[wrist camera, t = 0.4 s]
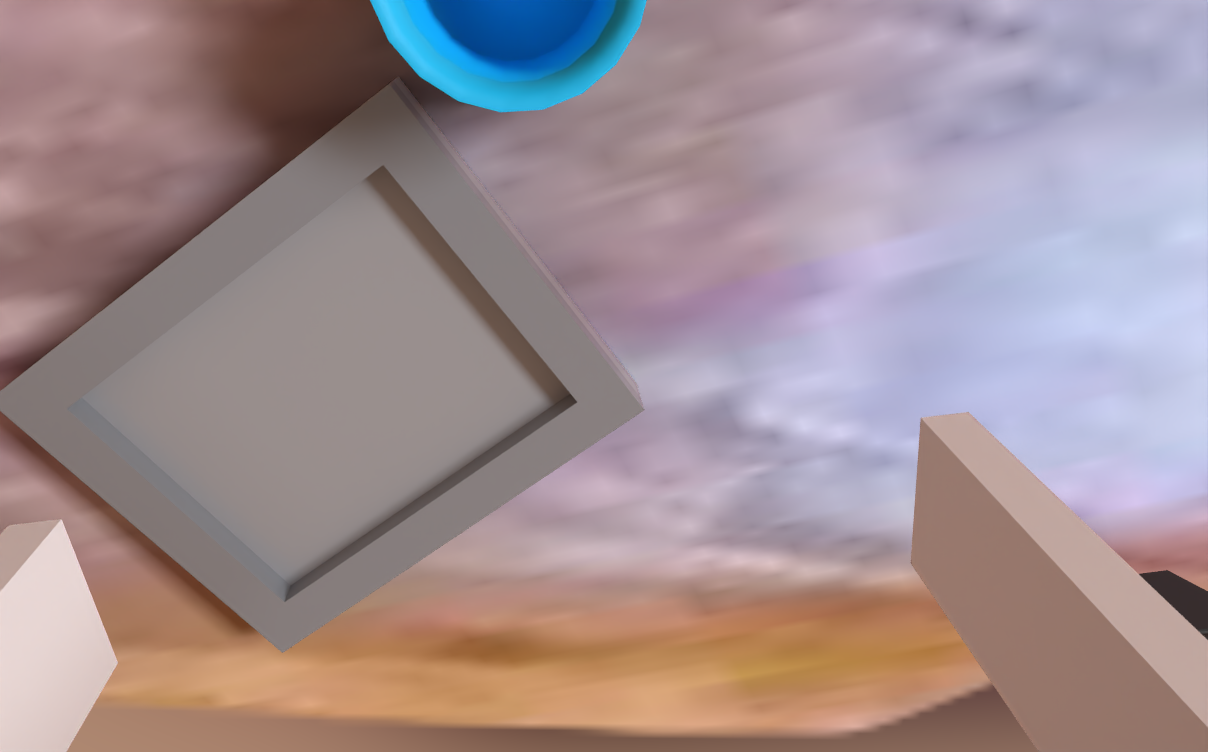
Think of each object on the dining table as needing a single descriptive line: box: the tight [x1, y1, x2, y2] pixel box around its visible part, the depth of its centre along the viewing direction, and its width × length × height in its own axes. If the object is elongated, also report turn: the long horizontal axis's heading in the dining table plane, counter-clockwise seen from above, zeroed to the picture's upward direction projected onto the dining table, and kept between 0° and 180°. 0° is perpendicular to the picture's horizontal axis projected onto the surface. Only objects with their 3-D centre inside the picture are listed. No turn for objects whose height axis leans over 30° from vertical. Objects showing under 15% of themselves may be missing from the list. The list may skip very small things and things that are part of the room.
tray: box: [0, 77, 644, 653], centre depth 37 cm, size 16×20×3 cm
